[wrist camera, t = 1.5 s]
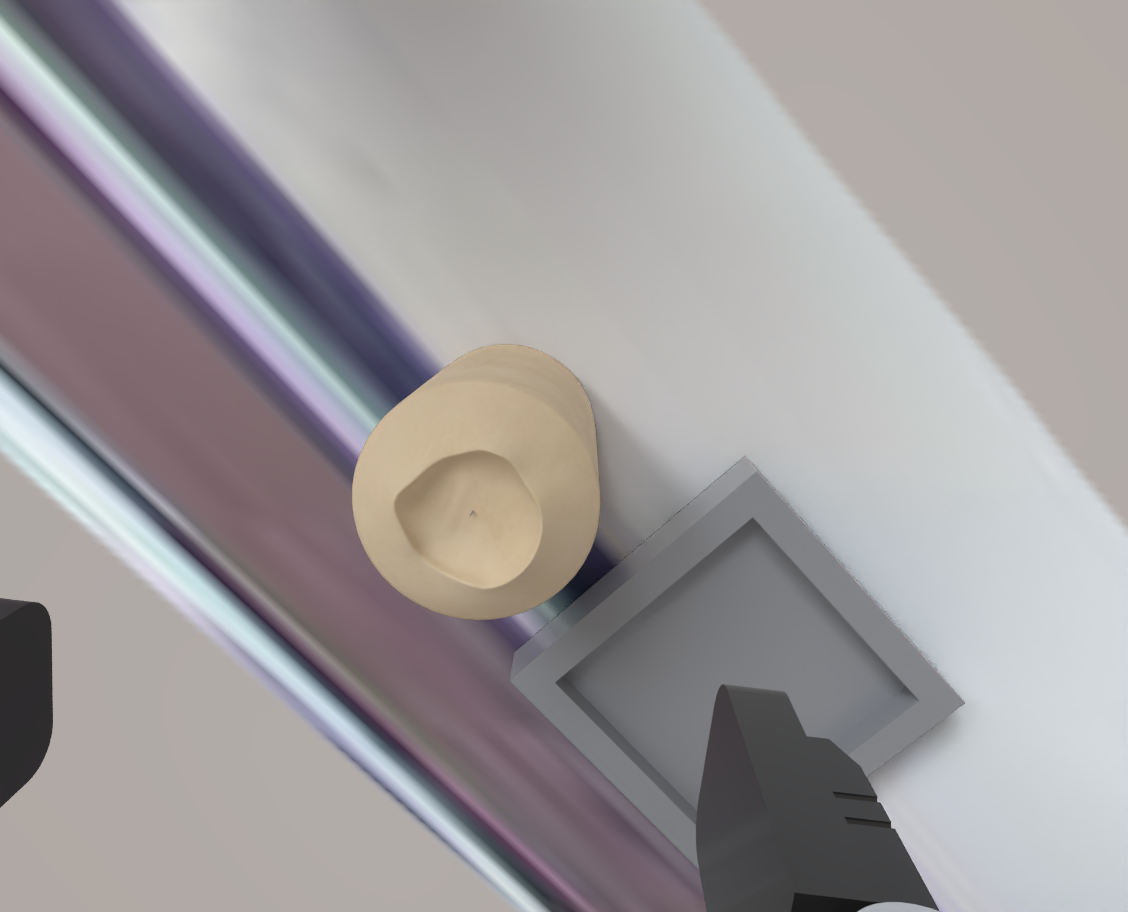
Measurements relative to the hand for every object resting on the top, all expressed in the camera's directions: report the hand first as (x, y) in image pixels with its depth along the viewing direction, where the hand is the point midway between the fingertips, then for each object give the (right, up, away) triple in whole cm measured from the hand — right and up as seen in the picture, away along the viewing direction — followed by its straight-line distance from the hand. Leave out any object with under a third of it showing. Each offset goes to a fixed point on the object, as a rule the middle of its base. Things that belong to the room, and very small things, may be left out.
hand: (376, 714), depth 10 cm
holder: (+8, -4, +19) cm, 21 cm away
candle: (0, +4, +17) cm, 18 cm away
